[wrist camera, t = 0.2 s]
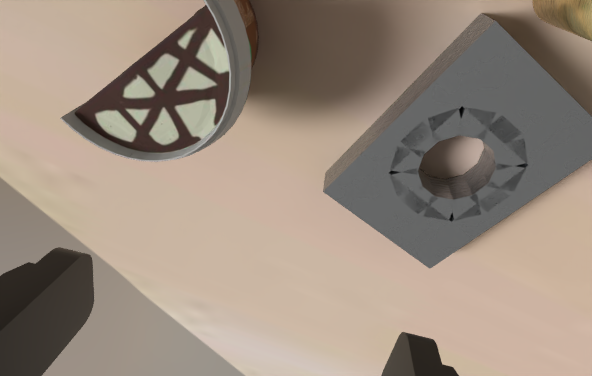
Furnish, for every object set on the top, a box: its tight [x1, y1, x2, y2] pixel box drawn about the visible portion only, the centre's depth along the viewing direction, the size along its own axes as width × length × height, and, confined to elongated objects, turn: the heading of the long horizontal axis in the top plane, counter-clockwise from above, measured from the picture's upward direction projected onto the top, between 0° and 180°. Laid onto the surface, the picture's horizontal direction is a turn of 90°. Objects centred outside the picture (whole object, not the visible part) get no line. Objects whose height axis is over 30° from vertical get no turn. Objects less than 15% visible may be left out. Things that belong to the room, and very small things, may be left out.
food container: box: [60, 0, 259, 162], centre depth 25 cm, size 12×6×10 cm, turn 123°
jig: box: [323, 13, 592, 268], centre depth 29 cm, size 16×12×3 cm
